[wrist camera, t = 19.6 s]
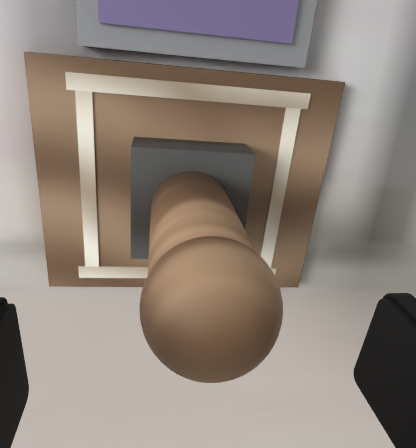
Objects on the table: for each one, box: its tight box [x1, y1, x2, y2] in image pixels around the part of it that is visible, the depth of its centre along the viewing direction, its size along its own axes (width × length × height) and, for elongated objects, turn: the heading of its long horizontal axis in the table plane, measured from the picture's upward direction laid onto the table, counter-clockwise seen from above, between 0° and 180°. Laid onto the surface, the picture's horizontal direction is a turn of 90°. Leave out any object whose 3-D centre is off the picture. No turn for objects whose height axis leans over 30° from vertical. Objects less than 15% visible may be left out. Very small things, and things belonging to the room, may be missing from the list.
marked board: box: [24, 52, 345, 287], centre depth 21 cm, size 13×16×1 cm
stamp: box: [131, 137, 283, 383], centre depth 15 cm, size 6×6×13 cm
